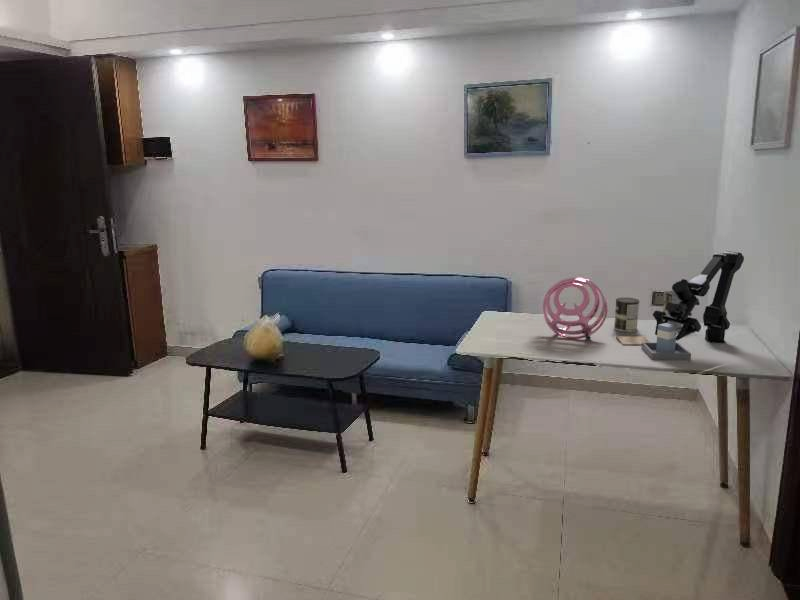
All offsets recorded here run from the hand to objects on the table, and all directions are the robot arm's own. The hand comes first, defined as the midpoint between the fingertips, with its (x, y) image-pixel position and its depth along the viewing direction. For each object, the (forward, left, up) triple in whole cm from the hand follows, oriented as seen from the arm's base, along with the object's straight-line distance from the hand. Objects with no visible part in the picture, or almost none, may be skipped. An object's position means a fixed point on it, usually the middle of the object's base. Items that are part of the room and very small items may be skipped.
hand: (665, 337), depth 234 cm
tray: (0, 0, -7) cm, 8 cm away
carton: (0, 0, -7) cm, 7 cm away
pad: (+8, -17, -7) cm, 20 cm away
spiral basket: (+33, -25, -8) cm, 42 cm away
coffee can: (+6, -39, -8) cm, 40 cm away
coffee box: (-17, -46, -8) cm, 50 cm away
